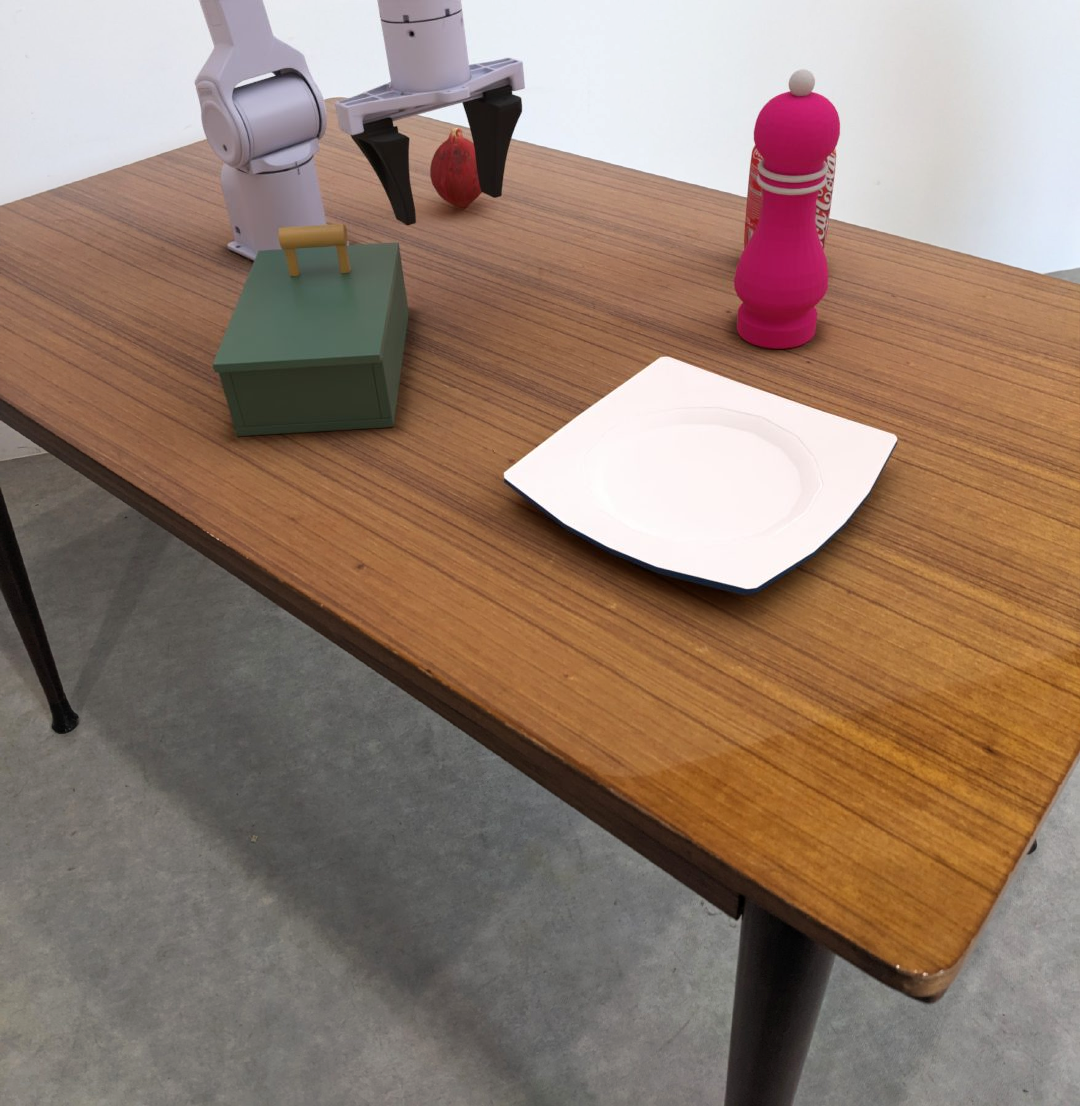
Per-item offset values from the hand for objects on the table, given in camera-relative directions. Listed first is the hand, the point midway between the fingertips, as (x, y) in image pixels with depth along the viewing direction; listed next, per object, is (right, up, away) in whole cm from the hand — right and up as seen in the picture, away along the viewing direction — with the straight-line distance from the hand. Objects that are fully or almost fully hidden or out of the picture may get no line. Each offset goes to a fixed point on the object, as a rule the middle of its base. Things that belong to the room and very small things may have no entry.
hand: (449, 207), depth 81 cm
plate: (+18, -23, -11) cm, 31 cm away
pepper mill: (+26, -9, +4) cm, 28 cm away
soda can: (+29, -1, +13) cm, 31 cm away
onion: (-1, +8, +27) cm, 28 cm away
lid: (-10, -8, -1) cm, 13 cm away
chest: (-10, -12, +3) cm, 16 cm away
